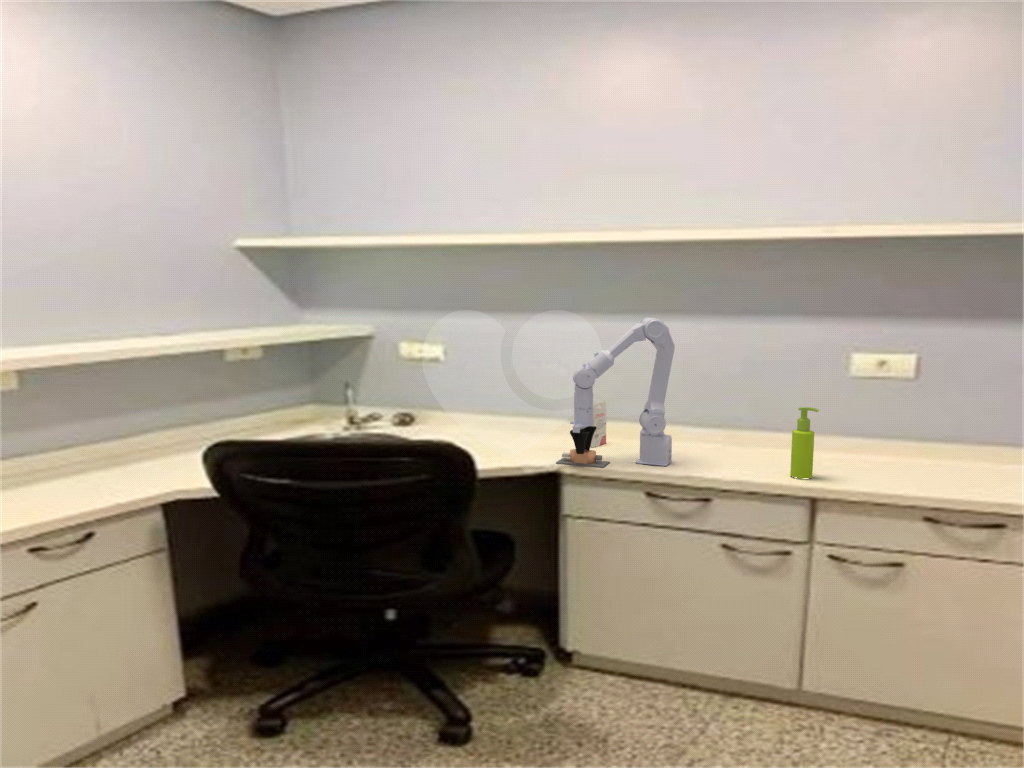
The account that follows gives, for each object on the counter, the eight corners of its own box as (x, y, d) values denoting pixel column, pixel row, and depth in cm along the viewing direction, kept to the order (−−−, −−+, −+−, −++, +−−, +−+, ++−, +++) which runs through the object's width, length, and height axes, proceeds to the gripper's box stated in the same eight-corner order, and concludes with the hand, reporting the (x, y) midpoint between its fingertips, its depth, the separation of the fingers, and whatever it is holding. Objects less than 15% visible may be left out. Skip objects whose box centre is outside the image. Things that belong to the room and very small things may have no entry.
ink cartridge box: (593, 441, 285) (594, 399, 282) (606, 443, 282) (607, 400, 280) (580, 446, 278) (580, 402, 276) (593, 447, 275) (593, 404, 273)
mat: (610, 462, 253) (610, 461, 253) (603, 467, 247) (603, 466, 247) (563, 458, 259) (563, 457, 259) (555, 463, 253) (555, 462, 253)
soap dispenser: (813, 481, 231) (816, 410, 228) (788, 477, 235) (791, 408, 232) (818, 476, 236) (821, 407, 233) (793, 473, 240) (796, 405, 237)
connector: (603, 462, 253) (603, 451, 252) (599, 464, 249) (599, 453, 249) (565, 458, 257) (565, 447, 257) (560, 461, 254) (560, 450, 253)
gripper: (578, 403, 259) (578, 446, 261) (563, 410, 246) (562, 455, 247) (600, 404, 256) (599, 447, 258) (585, 412, 243) (585, 457, 245)
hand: (583, 451), depth 253 cm, fingers open, 5 cm apart
